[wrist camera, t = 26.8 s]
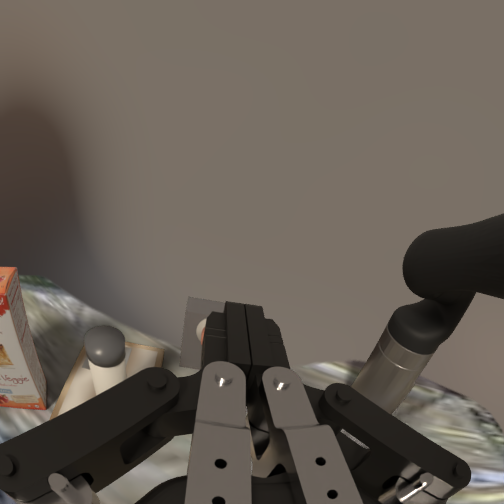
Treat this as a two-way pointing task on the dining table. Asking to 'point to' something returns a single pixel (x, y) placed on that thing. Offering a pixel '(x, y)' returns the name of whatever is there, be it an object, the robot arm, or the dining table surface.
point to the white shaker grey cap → (106, 357)
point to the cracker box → (18, 350)
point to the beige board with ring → (82, 383)
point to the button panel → (196, 329)
